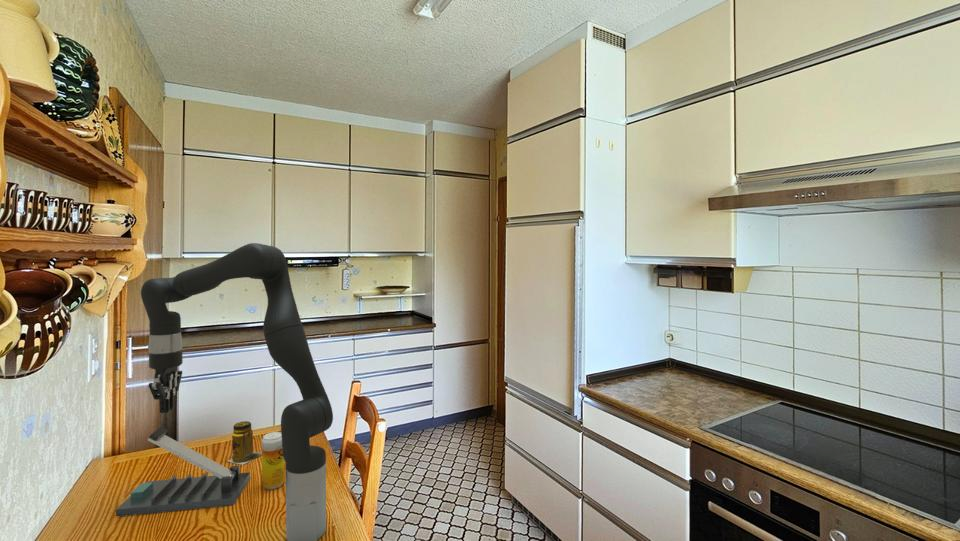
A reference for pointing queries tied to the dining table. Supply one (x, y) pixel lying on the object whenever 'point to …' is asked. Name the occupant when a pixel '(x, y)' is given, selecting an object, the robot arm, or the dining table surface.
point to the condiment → (242, 443)
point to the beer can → (272, 461)
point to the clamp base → (184, 494)
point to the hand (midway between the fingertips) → (167, 410)
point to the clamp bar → (189, 454)
